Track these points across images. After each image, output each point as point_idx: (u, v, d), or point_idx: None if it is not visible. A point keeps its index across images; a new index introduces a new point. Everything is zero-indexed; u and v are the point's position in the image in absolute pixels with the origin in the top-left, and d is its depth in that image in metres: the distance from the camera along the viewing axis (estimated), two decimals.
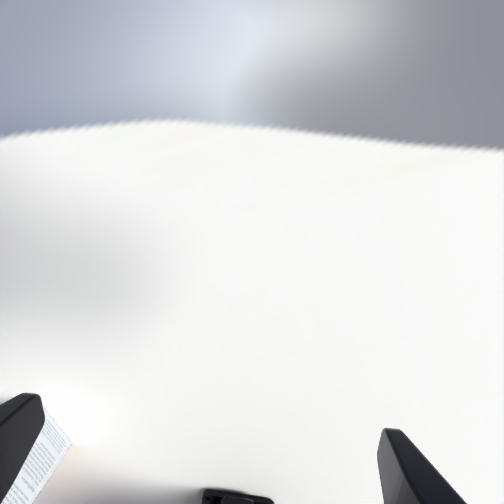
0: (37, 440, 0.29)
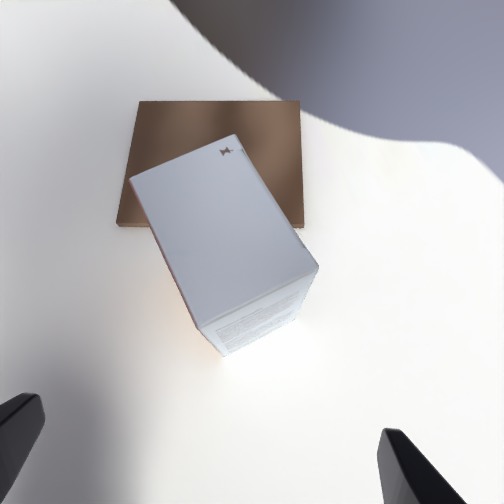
0: (265, 331, 0.21)
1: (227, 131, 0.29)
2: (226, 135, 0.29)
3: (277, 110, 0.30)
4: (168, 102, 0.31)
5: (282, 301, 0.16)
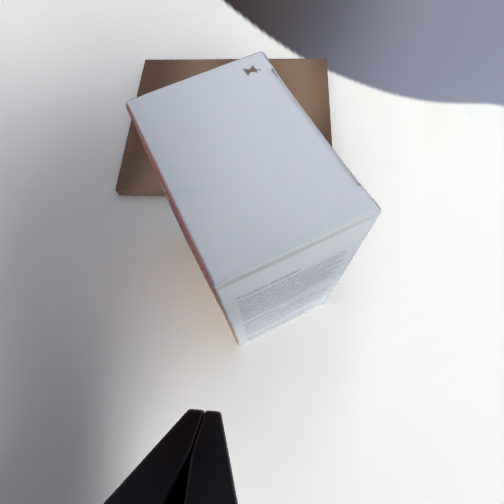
0: (291, 312, 0.17)
1: None
2: None
3: (301, 68, 0.26)
4: (177, 61, 0.27)
5: (324, 264, 0.12)
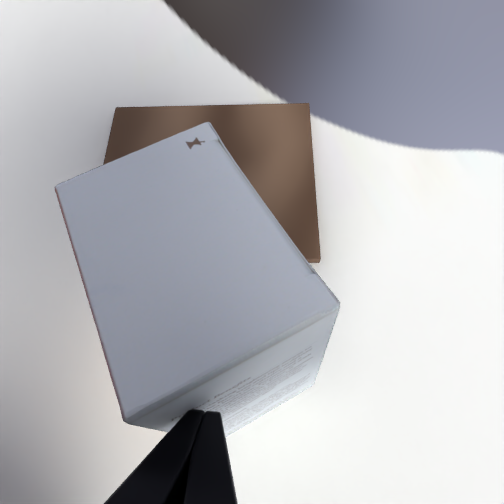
0: (270, 404, 0.15)
1: None
2: None
3: (283, 115, 0.25)
4: (150, 108, 0.25)
5: (285, 364, 0.10)
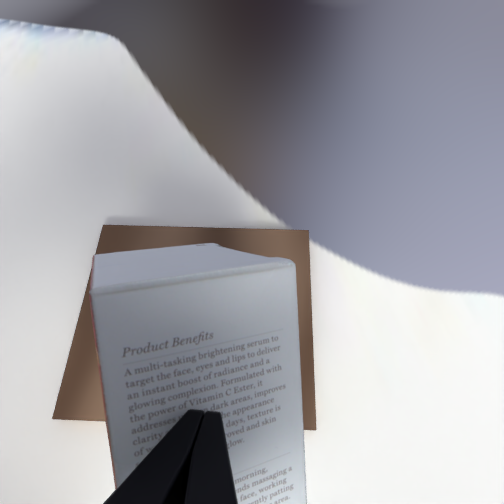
0: None
1: None
2: None
3: (280, 243, 0.23)
4: (140, 227, 0.24)
5: (251, 355, 0.10)
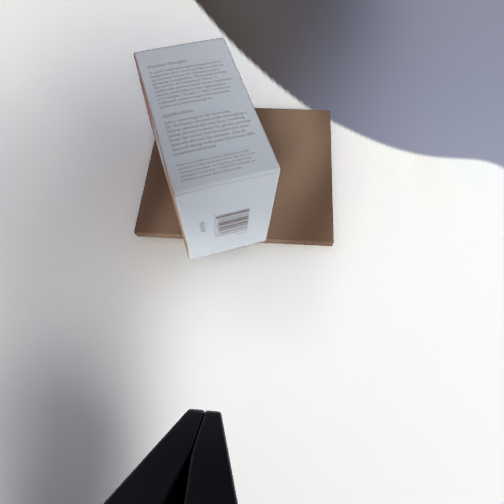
0: (222, 143, 0.18)
1: None
2: None
3: (307, 120, 0.29)
4: None
5: (208, 66, 0.20)
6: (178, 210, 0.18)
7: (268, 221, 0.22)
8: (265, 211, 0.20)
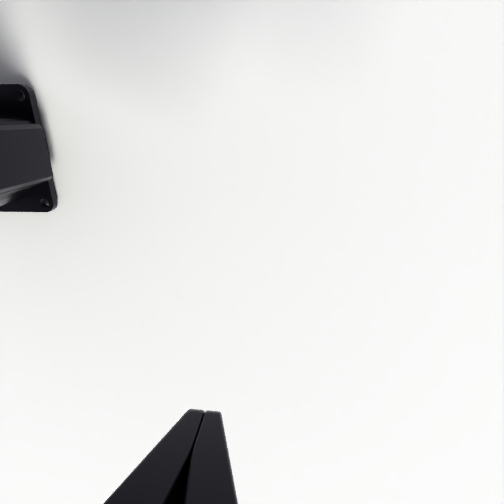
0: None
1: None
2: None
3: None
4: None
5: None
6: None
7: None
8: None
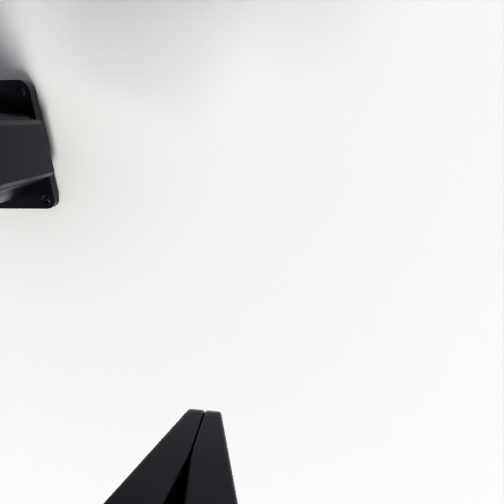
0: None
1: None
2: None
3: None
4: None
5: None
6: None
7: None
8: None
